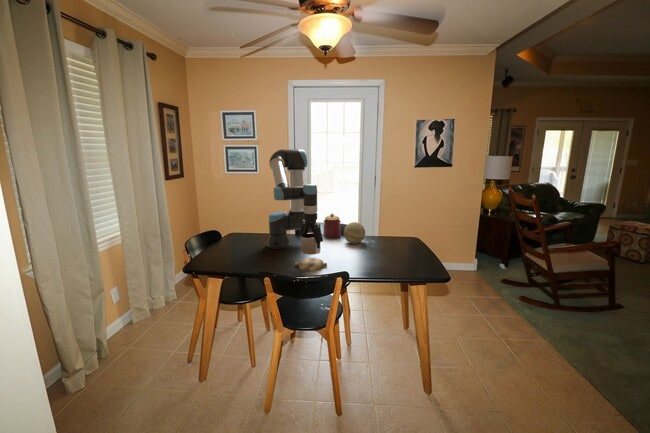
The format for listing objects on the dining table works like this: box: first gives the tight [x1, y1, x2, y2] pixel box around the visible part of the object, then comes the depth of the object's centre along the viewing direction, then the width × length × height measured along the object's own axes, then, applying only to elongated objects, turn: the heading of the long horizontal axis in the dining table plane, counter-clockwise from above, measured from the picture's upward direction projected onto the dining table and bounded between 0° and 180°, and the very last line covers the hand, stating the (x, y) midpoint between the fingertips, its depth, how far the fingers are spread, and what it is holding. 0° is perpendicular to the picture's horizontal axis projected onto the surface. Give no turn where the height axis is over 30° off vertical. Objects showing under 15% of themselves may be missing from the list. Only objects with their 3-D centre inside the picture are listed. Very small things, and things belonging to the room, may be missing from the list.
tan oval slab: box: [294, 257, 328, 272], centre depth 174 cm, size 18×14×2 cm
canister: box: [323, 213, 342, 239], centre depth 231 cm, size 13×13×18 cm
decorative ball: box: [343, 221, 366, 245], centre depth 215 cm, size 15×15×15 cm
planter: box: [300, 232, 316, 256], centre depth 171 cm, size 11×11×10 cm
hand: (310, 250), depth 172 cm, fingers closed on planter, 11 cm apart
